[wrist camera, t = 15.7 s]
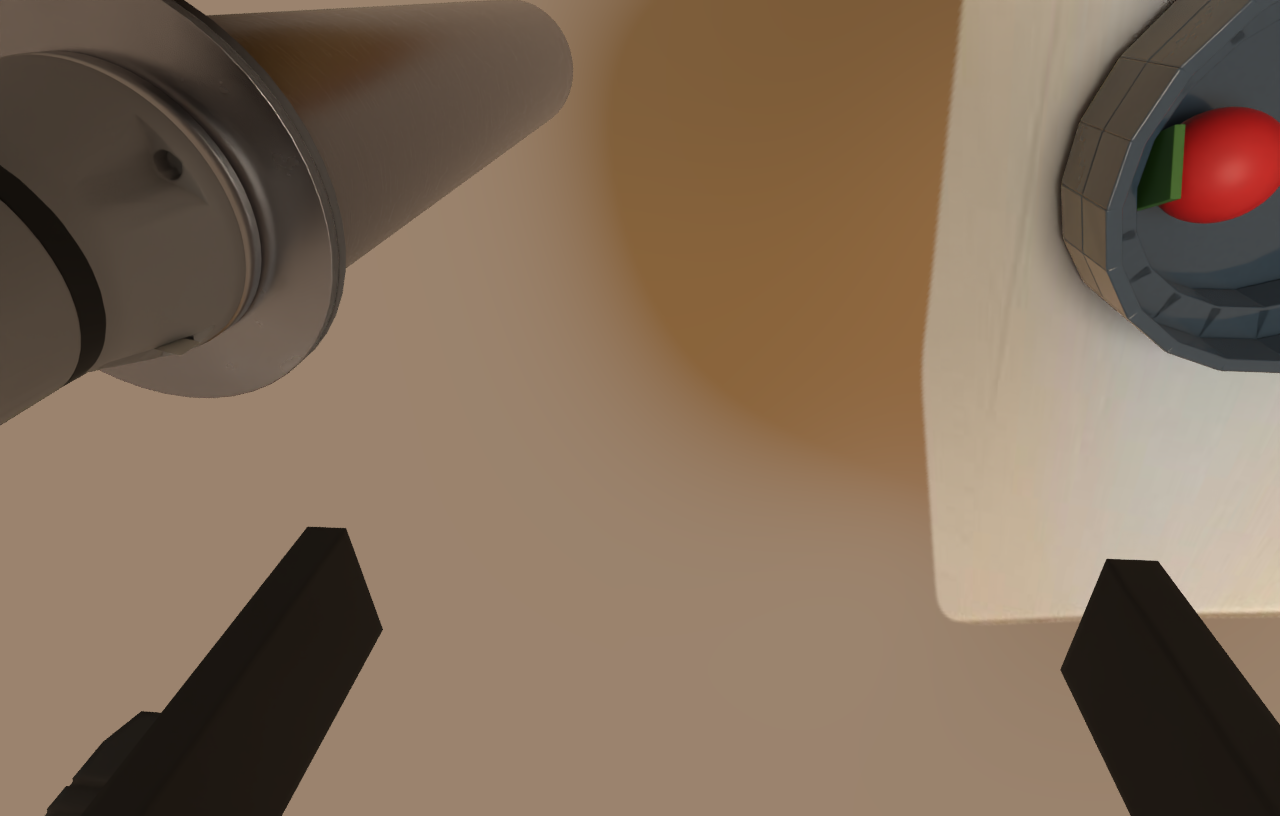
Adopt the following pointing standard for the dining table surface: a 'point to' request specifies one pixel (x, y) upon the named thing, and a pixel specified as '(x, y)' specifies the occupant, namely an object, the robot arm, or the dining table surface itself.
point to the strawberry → (1213, 166)
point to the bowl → (1151, 239)
